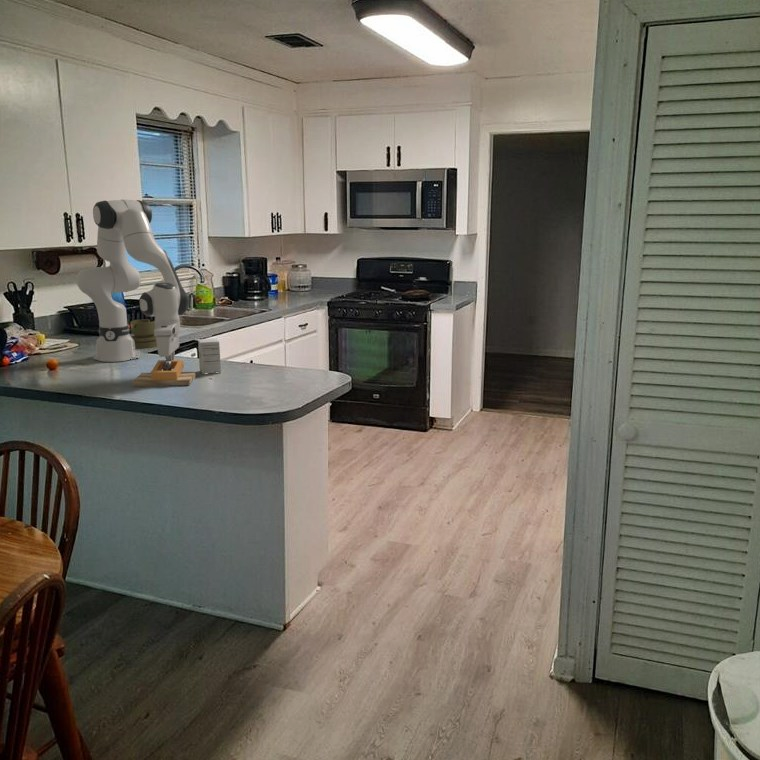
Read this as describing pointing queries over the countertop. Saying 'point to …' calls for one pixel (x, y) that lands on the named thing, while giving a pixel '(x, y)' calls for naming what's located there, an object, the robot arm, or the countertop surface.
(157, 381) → the wooden board
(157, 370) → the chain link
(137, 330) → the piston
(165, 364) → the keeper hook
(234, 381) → the countertop surface
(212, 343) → the supplement box
